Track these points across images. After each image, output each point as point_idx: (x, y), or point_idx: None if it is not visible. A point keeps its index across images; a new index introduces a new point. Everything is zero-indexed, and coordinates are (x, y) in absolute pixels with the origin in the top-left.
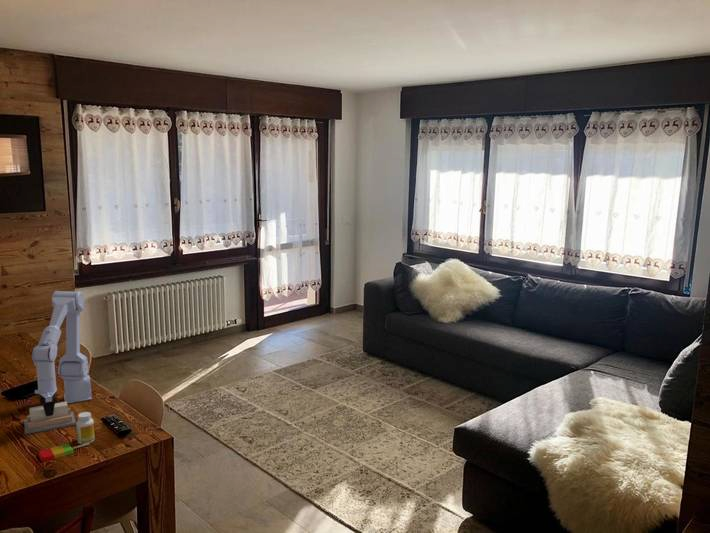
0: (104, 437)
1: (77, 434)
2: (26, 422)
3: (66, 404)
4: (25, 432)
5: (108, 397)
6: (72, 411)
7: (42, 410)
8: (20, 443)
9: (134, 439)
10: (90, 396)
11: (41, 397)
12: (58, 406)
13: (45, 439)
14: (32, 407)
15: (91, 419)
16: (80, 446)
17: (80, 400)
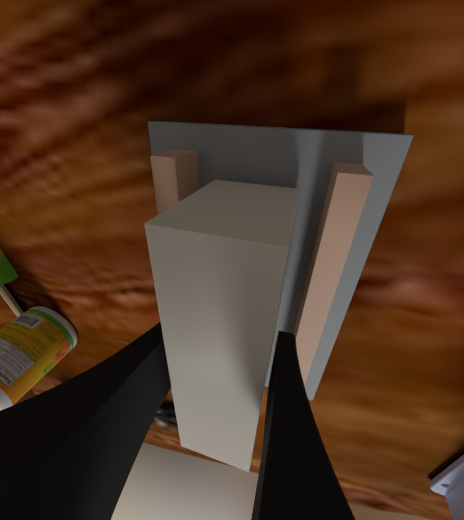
0: (72, 361)
1: (2, 329)
2: (325, 151)
3: (194, 449)
4: (152, 125)
5: (388, 502)
6: (310, 397)
7: (168, 328)
8: (42, 79)
9: None
10: (448, 501)
11: (260, 508)
12: (182, 418)
13: (77, 221)
14: (278, 284)
15: None
16: (7, 302)
17: (455, 467)
